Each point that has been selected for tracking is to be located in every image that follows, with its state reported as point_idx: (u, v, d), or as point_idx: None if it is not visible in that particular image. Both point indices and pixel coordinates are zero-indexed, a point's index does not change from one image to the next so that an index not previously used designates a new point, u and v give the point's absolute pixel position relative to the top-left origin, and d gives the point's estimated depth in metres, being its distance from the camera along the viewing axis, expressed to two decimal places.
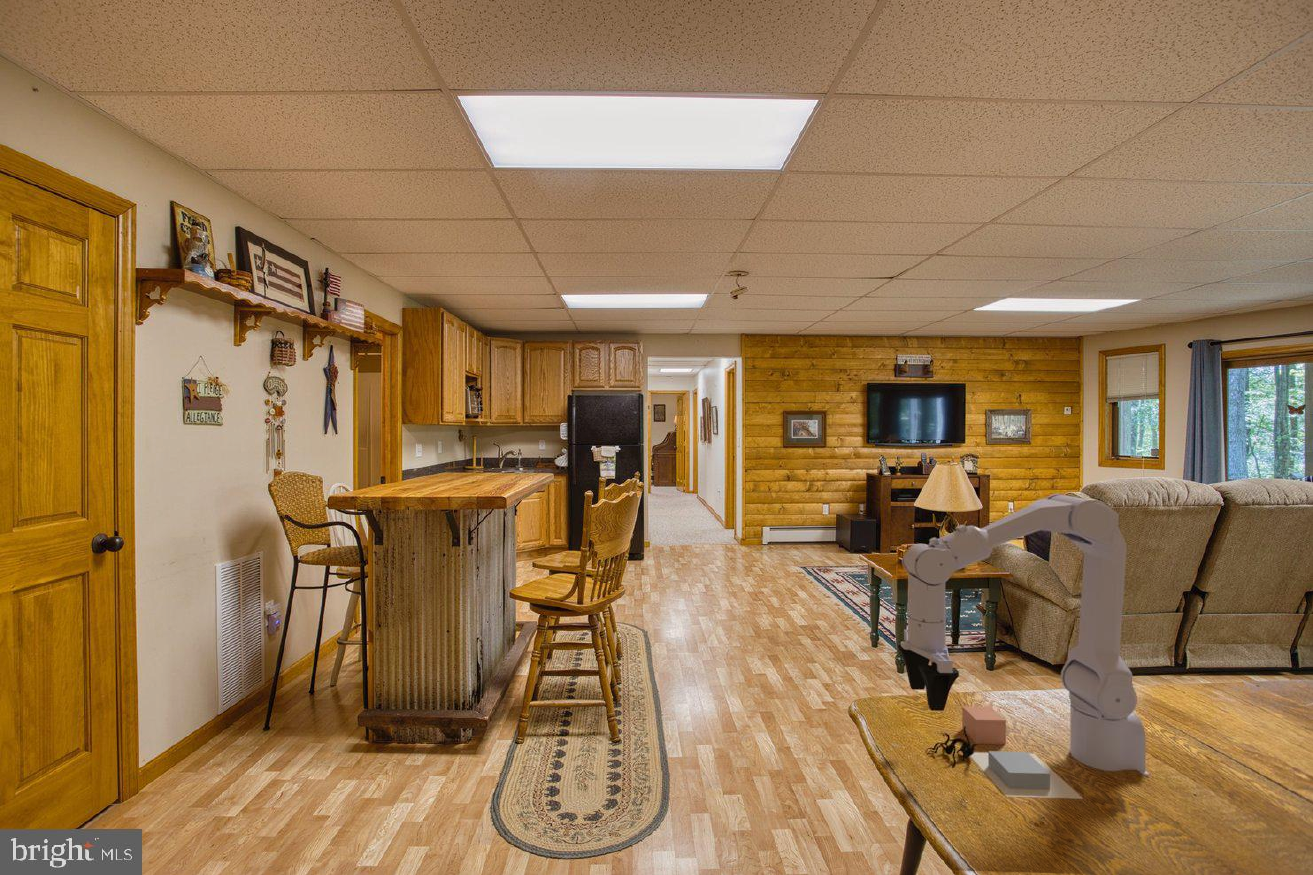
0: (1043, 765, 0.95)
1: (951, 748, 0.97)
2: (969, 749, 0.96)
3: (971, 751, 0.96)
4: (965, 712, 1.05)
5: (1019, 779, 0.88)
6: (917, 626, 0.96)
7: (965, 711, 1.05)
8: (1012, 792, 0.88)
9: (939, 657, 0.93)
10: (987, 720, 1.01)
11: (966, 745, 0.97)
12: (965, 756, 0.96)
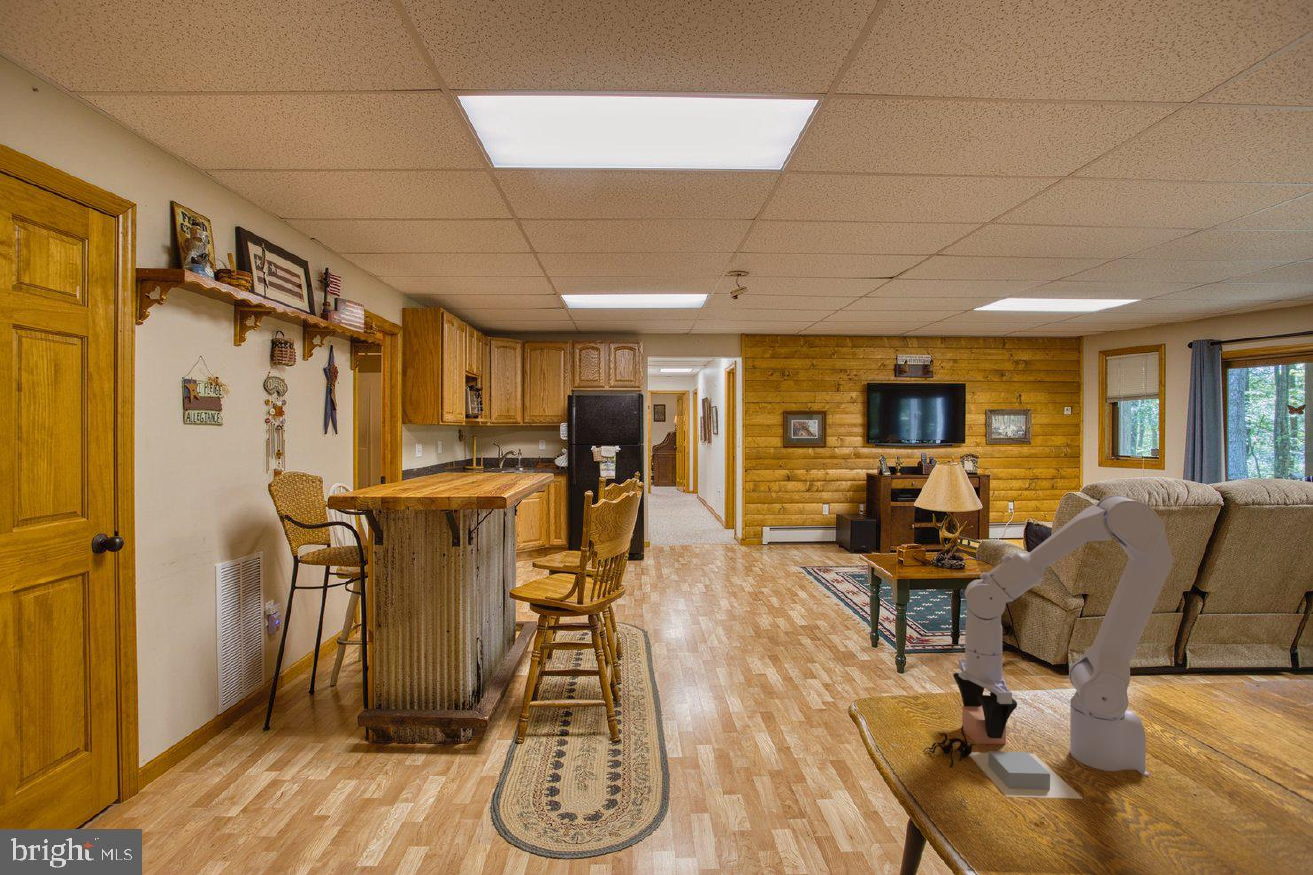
0: (1043, 765, 0.95)
1: (949, 748, 0.97)
2: (967, 749, 0.97)
3: (969, 751, 0.96)
4: (965, 712, 1.05)
5: (1019, 779, 0.88)
6: (975, 658, 1.02)
7: (965, 711, 1.05)
8: (1012, 792, 0.88)
9: (998, 688, 0.98)
10: None
11: (964, 745, 0.97)
12: (963, 756, 0.96)
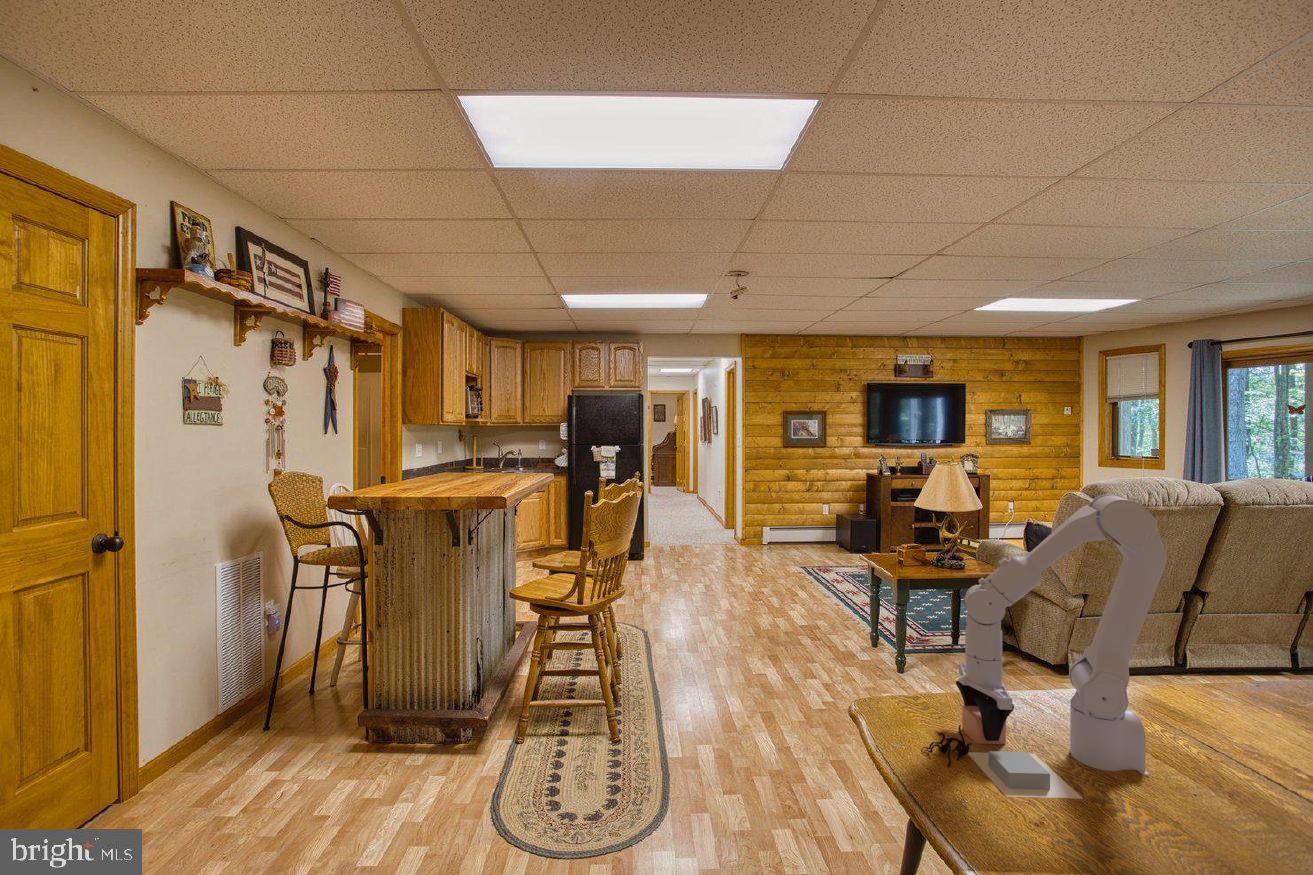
0: (1043, 765, 0.95)
1: (946, 747, 0.97)
2: (964, 748, 0.97)
3: (966, 750, 0.96)
4: (965, 711, 1.05)
5: (1019, 779, 0.88)
6: (976, 663, 1.02)
7: (965, 710, 1.05)
8: (1012, 792, 0.88)
9: (998, 694, 0.98)
10: None
11: (961, 744, 0.97)
12: (960, 755, 0.97)
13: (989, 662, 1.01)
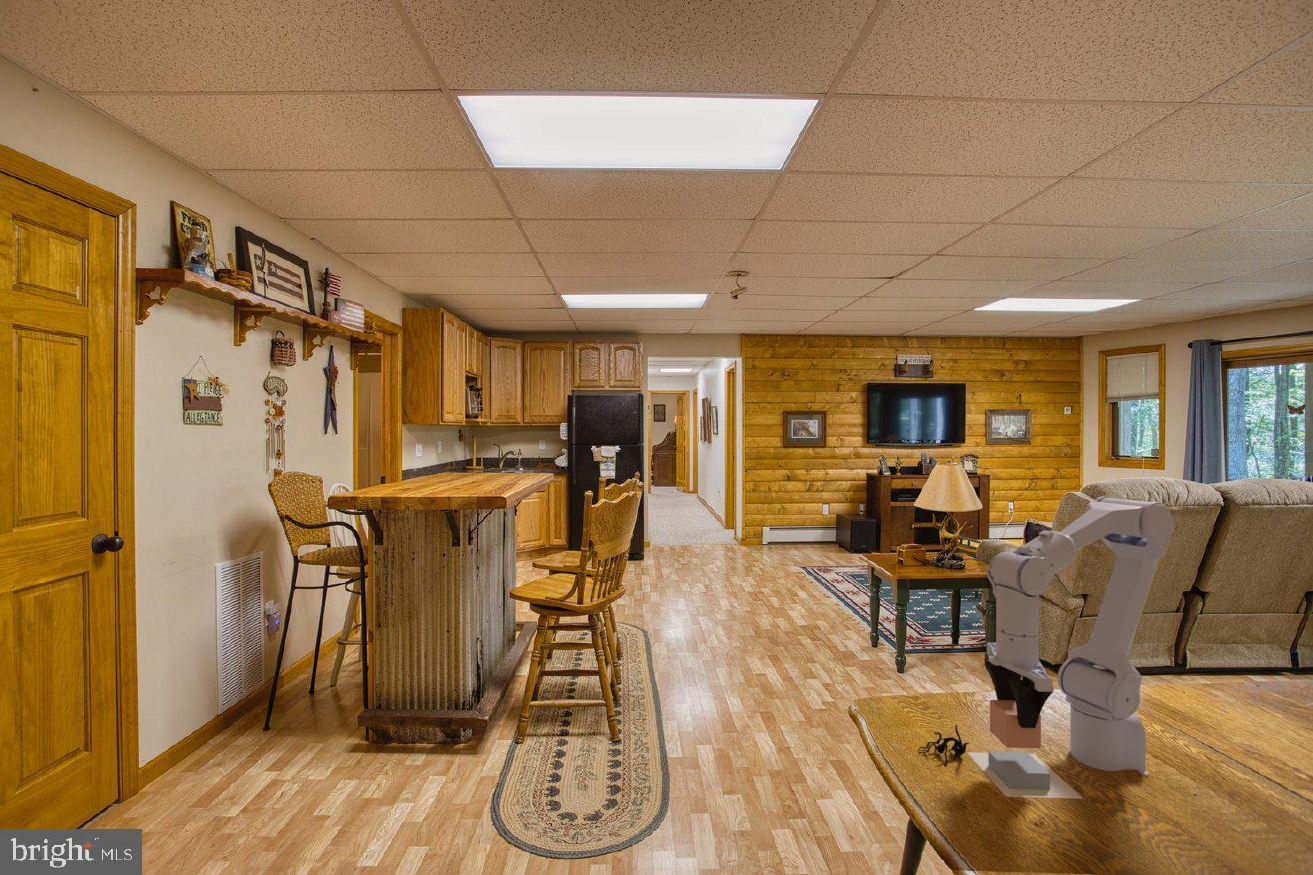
0: (1043, 765, 0.95)
1: (943, 747, 0.97)
2: (961, 748, 0.97)
3: (963, 750, 0.97)
4: (993, 706, 0.93)
5: (1019, 779, 0.88)
6: (1009, 640, 0.90)
7: (993, 705, 0.93)
8: (1012, 792, 0.88)
9: (1036, 674, 0.86)
10: None
11: (958, 744, 0.97)
12: (957, 755, 0.97)
13: (1024, 638, 0.89)
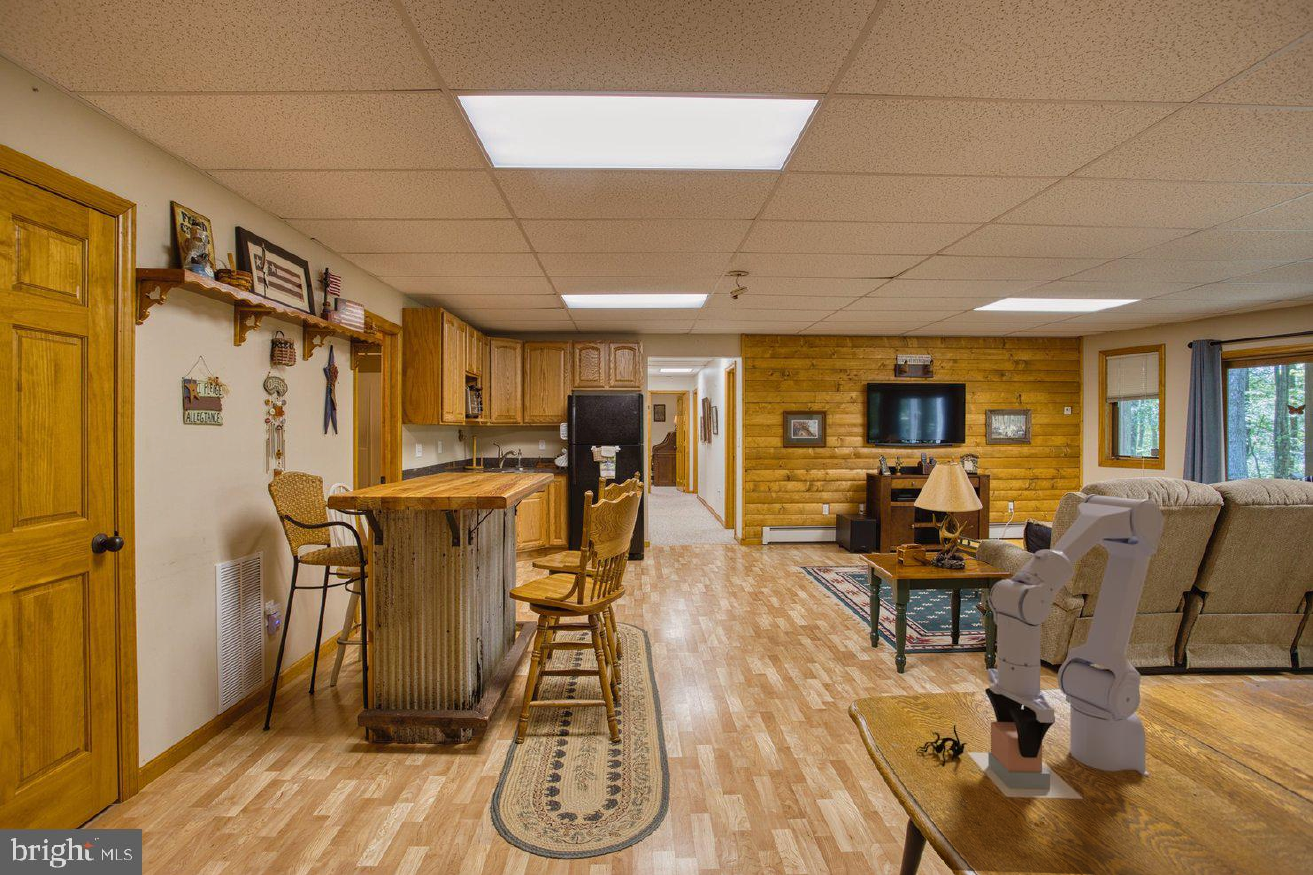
0: (1043, 765, 0.95)
1: (941, 747, 0.97)
2: (959, 748, 0.97)
3: (961, 750, 0.96)
4: (994, 729, 0.93)
5: (1019, 779, 0.88)
6: (1010, 669, 0.90)
7: (994, 727, 0.93)
8: (1012, 792, 0.88)
9: (1037, 704, 0.86)
10: None
11: (956, 744, 0.97)
12: (955, 755, 0.97)
13: (1026, 668, 0.88)
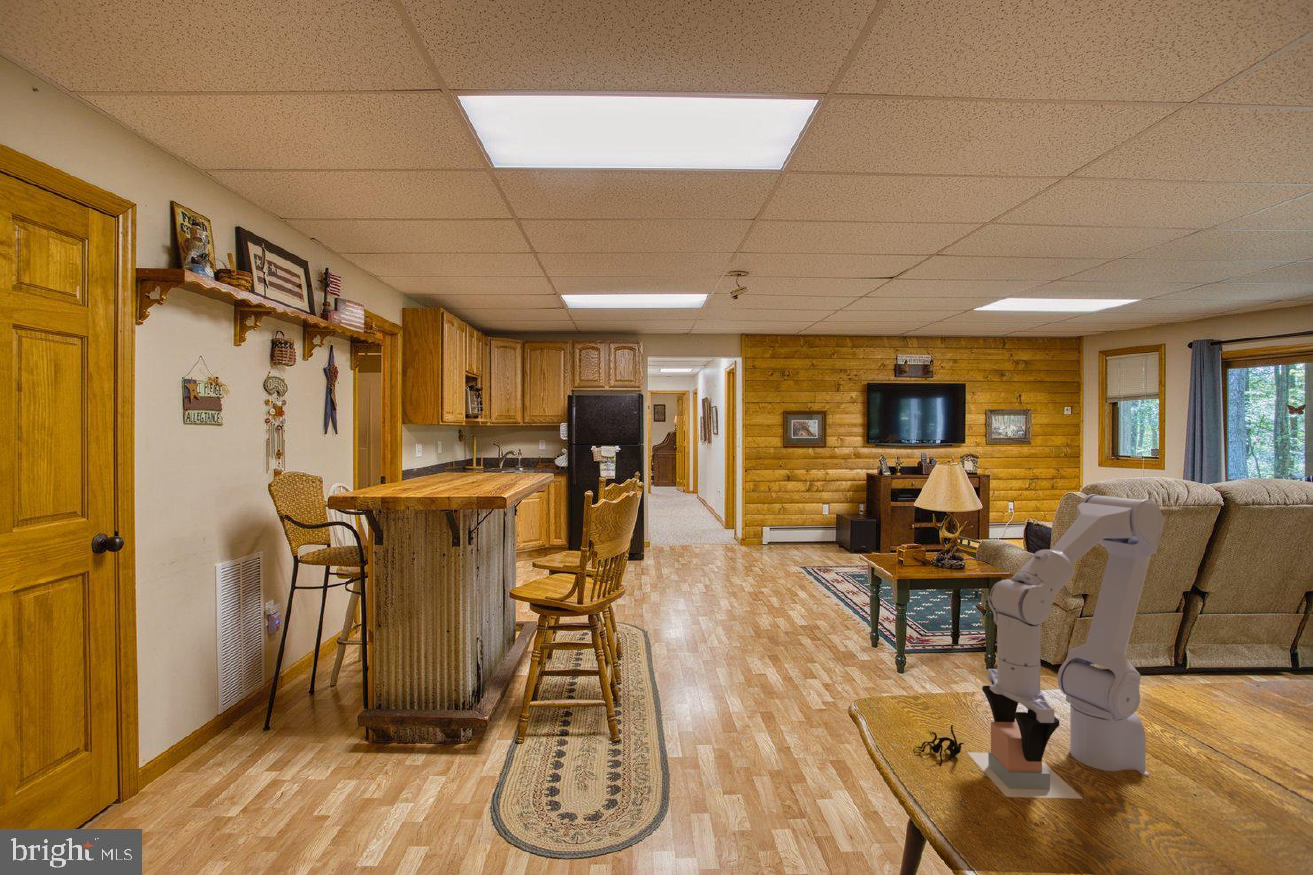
0: (1043, 765, 0.95)
1: (938, 747, 0.98)
2: (956, 748, 0.97)
3: (958, 750, 0.97)
4: (994, 729, 0.93)
5: (1019, 779, 0.88)
6: (1010, 669, 0.90)
7: (994, 727, 0.93)
8: (1012, 792, 0.88)
9: (1037, 704, 0.86)
10: None
11: (953, 744, 0.97)
12: (952, 755, 0.97)
13: (1026, 668, 0.88)
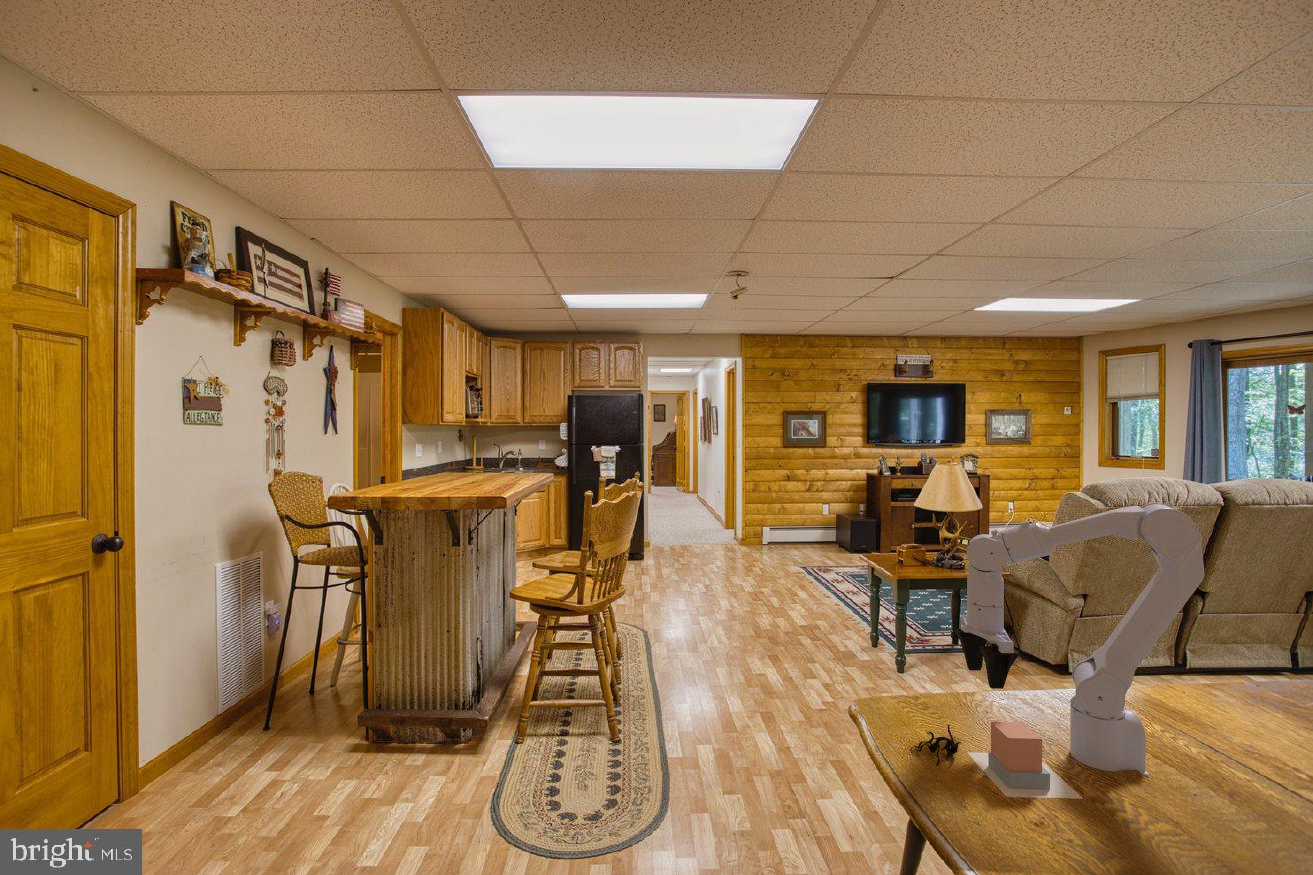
0: (1043, 765, 0.95)
1: (935, 746, 0.98)
2: (953, 747, 0.97)
3: (955, 749, 0.97)
4: (994, 729, 0.93)
5: (1019, 779, 0.88)
6: (977, 610, 1.03)
7: (994, 727, 0.93)
8: (1012, 792, 0.88)
9: (1000, 638, 1.00)
10: (1021, 738, 0.89)
11: (950, 743, 0.97)
12: (949, 754, 0.97)
13: (990, 608, 1.02)
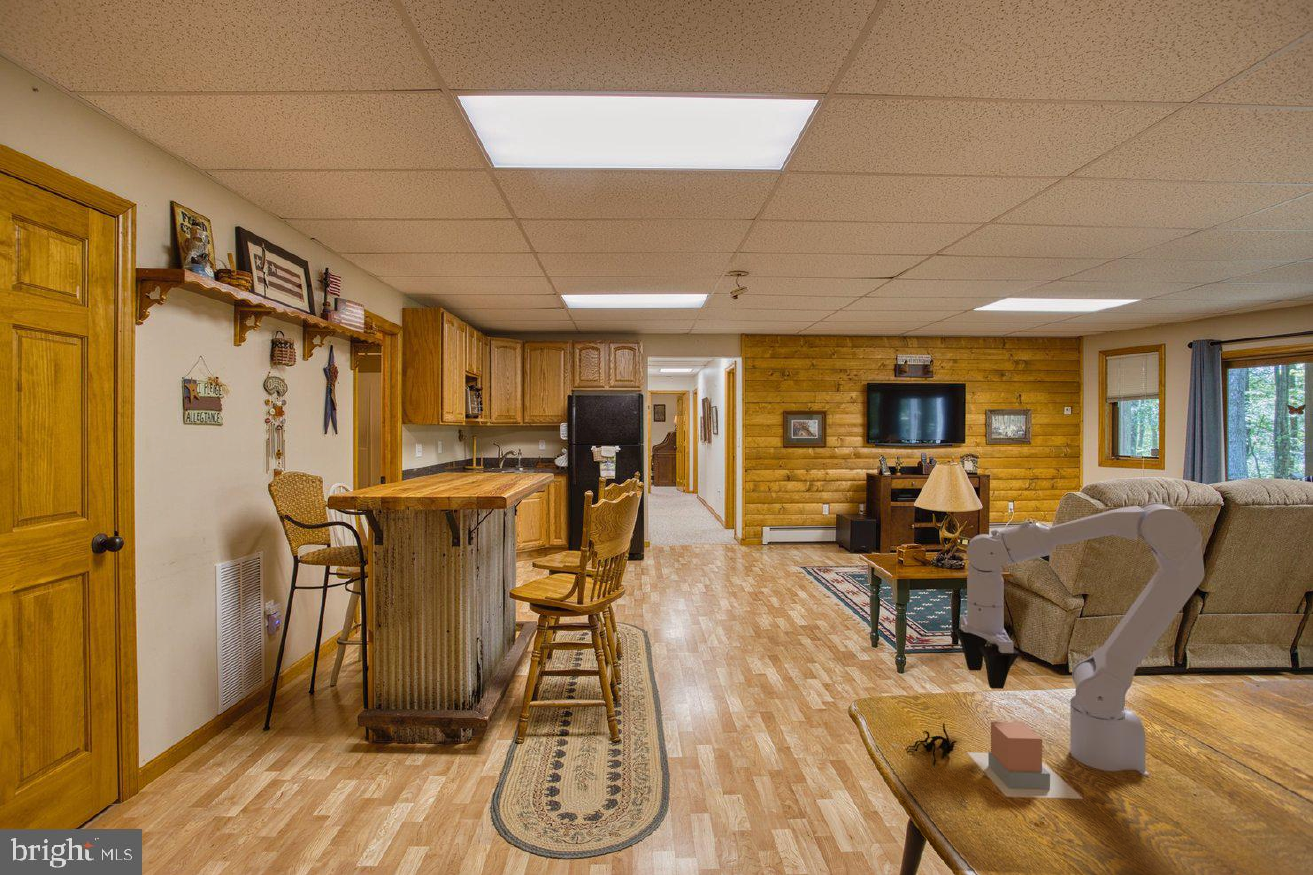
0: (1043, 765, 0.95)
1: (931, 745, 0.98)
2: (949, 746, 0.97)
3: (951, 748, 0.97)
4: (994, 729, 0.93)
5: (1019, 779, 0.88)
6: (977, 610, 1.03)
7: (994, 727, 0.93)
8: (1012, 792, 0.88)
9: (1000, 638, 1.00)
10: (1021, 738, 0.89)
11: (946, 742, 0.98)
12: (945, 753, 0.97)
13: (990, 608, 1.02)
